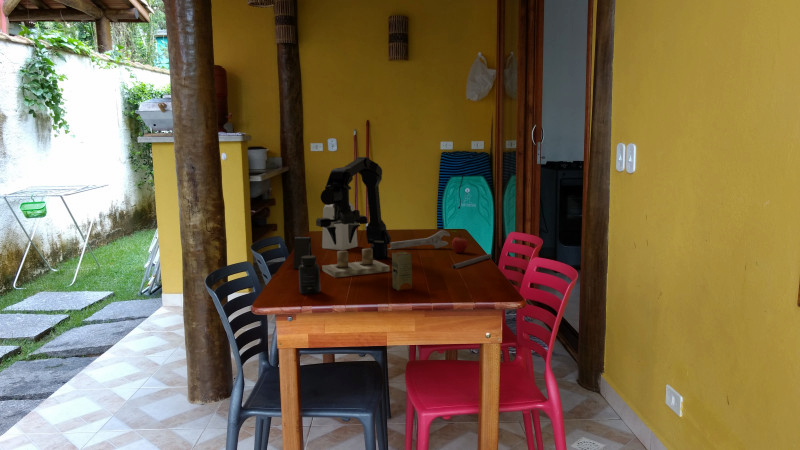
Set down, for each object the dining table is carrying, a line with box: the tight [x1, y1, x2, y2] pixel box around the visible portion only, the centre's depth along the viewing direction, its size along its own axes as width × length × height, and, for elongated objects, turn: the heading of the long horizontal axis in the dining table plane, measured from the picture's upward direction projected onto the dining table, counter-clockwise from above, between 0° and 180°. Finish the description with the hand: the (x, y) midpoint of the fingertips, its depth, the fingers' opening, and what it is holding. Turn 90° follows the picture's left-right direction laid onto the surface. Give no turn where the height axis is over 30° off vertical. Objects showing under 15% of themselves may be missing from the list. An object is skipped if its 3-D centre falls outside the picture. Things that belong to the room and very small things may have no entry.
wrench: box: [387, 230, 451, 250], centre depth 285 cm, size 8×2×30 cm
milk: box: [321, 201, 358, 251], centre depth 290 cm, size 12×12×26 cm
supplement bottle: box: [298, 255, 321, 296], centre depth 204 cm, size 7×7×12 cm
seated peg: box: [361, 247, 374, 266], centre depth 239 cm, size 4×4×8 cm
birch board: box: [321, 259, 390, 278], centre depth 238 cm, size 22×14×2 cm, turn 116°
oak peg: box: [336, 250, 349, 269], centre depth 235 cm, size 4×4×8 cm
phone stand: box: [292, 236, 314, 270], centre depth 246 cm, size 9×6×12 cm, turn 174°
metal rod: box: [451, 253, 492, 270], centre depth 250 cm, size 2×27×2 cm, turn 142°
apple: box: [450, 229, 468, 254], centre depth 272 cm, size 8×7×10 cm
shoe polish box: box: [391, 250, 413, 291], centre depth 208 cm, size 5×5×12 cm
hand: (342, 243), depth 234 cm, fingers open, 6 cm apart
